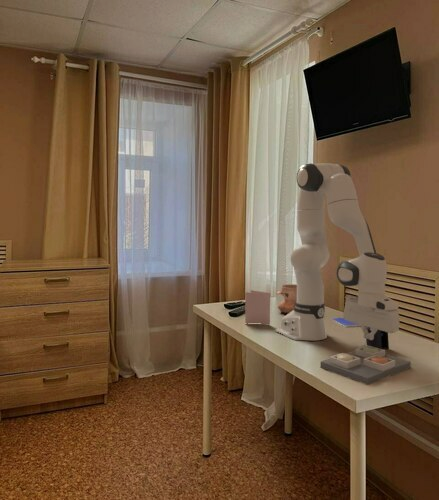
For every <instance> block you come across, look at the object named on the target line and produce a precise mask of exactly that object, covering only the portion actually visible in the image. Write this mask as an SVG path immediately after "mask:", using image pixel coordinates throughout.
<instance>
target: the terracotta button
mask: <svg viewBox="0 0 439 500" xmlns="http://www.w3.org/2000/svg"><path fill="white" fill-rule="evenodd" d="M371 361H373V362H376V363H380V364H384V363H387V362H388V360H387V359H386V358H384V357H379V356H374V357H371Z"/></svg>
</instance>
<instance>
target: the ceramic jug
mask: <svg viewBox="0 0 439 500" xmlns="http://www.w3.org/2000/svg"><path fill="white" fill-rule="evenodd" d="M280 288H281V291H277V292H276V294H277V295H281V296H283V298H284V299H283V300H282V301H281V302H279V303H278V305H277V309H279V311H280V312H282V313H283V314H286V313H287V314H289V313H290V312H291V311H293V309H294V306H292V305H294V304H292V303H296V302H297V284H296V283H295V284H294V283H293V284H292V283H289V284H282V285H280ZM287 314H286V315H287Z"/></svg>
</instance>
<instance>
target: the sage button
mask: <svg viewBox="0 0 439 500" xmlns="http://www.w3.org/2000/svg"><path fill="white" fill-rule="evenodd" d="M366 346H367V345H366ZM362 347H363V346H362ZM363 351H367V352H370V353H375V352H378V349H377V348H375V347H368V346H367V347H363Z"/></svg>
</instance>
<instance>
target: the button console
mask: <svg viewBox="0 0 439 500" xmlns="http://www.w3.org/2000/svg"><path fill="white" fill-rule="evenodd" d="M367 346H368V345H367V344H366V345H364V346H360V347H358V348H355V350H354V351H351V352H347V353H345V352H342V353H340V352H339V353H338V354H334V355H331V356H329V358H328V359H324V360H321V361H320V364H319V365H320V367H319V368H321V369H324V370H327V371H330V372H332V373H335V374H337V375H339V376H340V375H341V376H343V377H345V378H349V379H351V380H354V381H357V382H359V383H361V384H365V385H367V386H368V385H370V384H373V383H375V382H377V381H381V380H383V379H385V378H388V377H390V376H393V375H396V374H398V373H400V372H403V371H405V370H409V369H411V366H412V365H411V363H412V362H411V361H409V360H407V359H402V358H399V357H396V356H392V355H388V354H386V350H385V349H382V348H381V349H379V348H377V349H378V352H375V353H370V352H367V351H363V347H367ZM368 347H372V346H368ZM375 348H376V347H375ZM339 354H347V355H351V356H353V360H351V361H348V362H346V361H343V360H340V359H337V355H339ZM374 356H379V357H384V358H386V359H387V360H388V362H387V363H384V364H380V363H376V362H373V361H371V357H374Z"/></svg>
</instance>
